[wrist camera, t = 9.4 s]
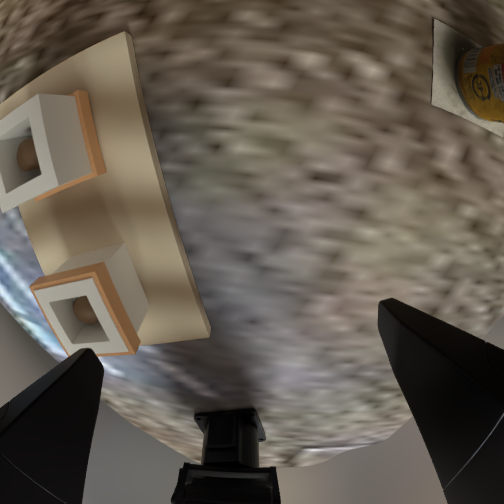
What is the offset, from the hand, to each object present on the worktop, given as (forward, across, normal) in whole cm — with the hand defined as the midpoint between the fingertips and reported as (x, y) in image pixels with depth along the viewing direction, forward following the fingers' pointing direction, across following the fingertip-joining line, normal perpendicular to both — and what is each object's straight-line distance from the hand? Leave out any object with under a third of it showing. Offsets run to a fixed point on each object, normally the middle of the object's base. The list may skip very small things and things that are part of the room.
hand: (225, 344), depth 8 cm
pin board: (+12, +10, -3) cm, 16 cm away
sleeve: (+11, +10, -8) cm, 17 cm away
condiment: (+12, -20, -8) cm, 25 cm away
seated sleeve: (+11, +10, +2) cm, 15 cm away
